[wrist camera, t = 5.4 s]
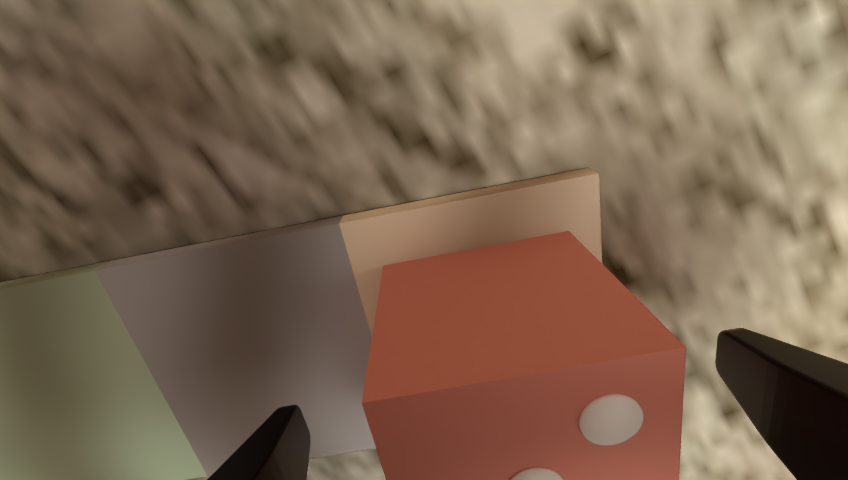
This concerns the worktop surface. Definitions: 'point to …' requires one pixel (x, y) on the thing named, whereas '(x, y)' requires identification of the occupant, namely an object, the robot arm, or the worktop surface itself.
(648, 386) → the die
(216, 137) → the worktop surface
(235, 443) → the track
